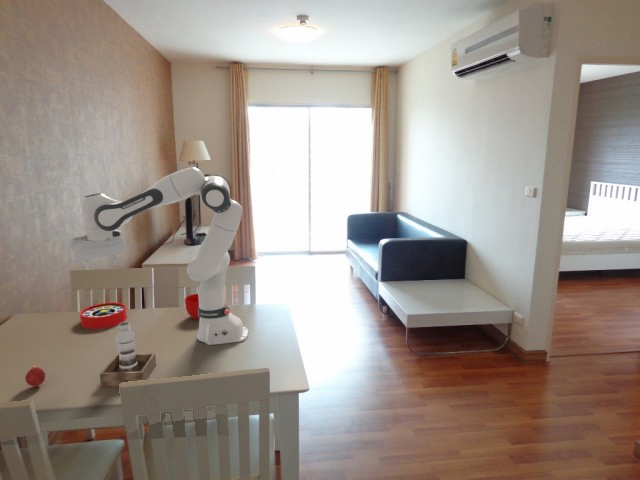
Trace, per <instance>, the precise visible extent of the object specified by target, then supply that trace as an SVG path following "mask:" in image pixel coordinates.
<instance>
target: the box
mask: <svg viewBox="0 0 640 480" xmlns="http://www.w3.org/2000/svg"><path fill="white" fill-rule="evenodd" d="M135 355H136V360H137V363H138V372H119V353H118V354H115V355H114V357H112V359H111V360H110V361H109V363H108V364H107V365H106V366H105V367H104V368H103V370H102V371H101V372H100V373H99V378H100V387H101V386H113V387H120V386H119V384H120V383H122V382H128V381H138V380H146V379H147V380H148V379H149V378H150V377H151V374H152V372H153V371H154V369H155V368H156V366H157V360H156V358H157V357H156V353H155V352H154V353H153V352H152V353H135Z"/></svg>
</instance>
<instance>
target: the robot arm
mask: <svg viewBox="0 0 640 480" xmlns="http://www.w3.org/2000/svg"><path fill="white" fill-rule="evenodd" d="M230 189H231V188H230V183H229V182H228V180H227V178H225V177H224V176H222V175H219V174H208V173H206V174H204V173H203V172H202V171H201V170H200V169H199V168H197V167H194V166H191V167H187V168H183V169H181V170H177V171H175V172H172V173H171V174H168V175H166V176H164V177H162V178H161V179H159V180H158V181H156V182H155V183H154V184H152V185H151V186H150V187H149V188H147V189H145V190H144V191H142V192H141V193H139V194H137V195H135V196H133V197H130V198H128V199H126V200H124V201H121V200H117V199H114V198H111V197H109V196H107V195H106V194H105V193H101V192H99V193H92V194H88V195H86V196H84V197H83V199H82V200H81V201H82V202H81V206H82V207H81V209H82V210H81V211H82V218H83V220H84V226H83V229H84V235H81V236H75V237H73V238H71V239H70V241H69V246H70V256H71V259H72V260H73V261H75V262H80V261H81V262H82V264H83V265H84V266H85V269H86V270H87V271H90V270H92V269H93V268H92V265H91V264H88V262H89V260H90V259H96V258H102V257H109V256H111V257H112V259H111V260H110V261H109V263H110V266H116V263H117V262H116V260H117V259H118V256H119V254H125V252H126V251H127V247H126V241H125V238H124V237H123V231H121V230H119V228H120V227H122V226H124V225H126V224H128V223H129V222H131V220H133V217H134V216H136V215H138V214H139V213H142V212H145V211H147V210H149V209H154V208H158V207H162V206H167V205H172V204H175V203H178V202H181V201H184V200H186V199H188V198H190V197H192V196H196V195H198V196H201V201H202V203H203V204H204V205H205V206H206V207H207V208H209V209H210V210H212V211H213V212H214V215H213V218H212V220H211V222H210V226H209V228H208V231H207V234H206V235H205V238H204V239H203V241H202V243H201V244H200V245H199V248H198V249H197V251H196V252H195V254H194V256H193V257H192V259H191V260H190V261H189V262H188V264H187V268H186V271H187V275H188V276H189V277H190V278H191V280H192V281H195V282H200V284H199V287H198V291H197V294H198V298H199V307H198V317H199V319H198V321H199V322H198V331H197V335H196V339H197V340H198V341H199V342H201V343H205V344H206V345H208V346H212V345H214V346H215V345H223V344H229V343H231V344H232V343H239V342H243V341H245V340H246V339H247V338H248V335H249V329H248V328H247V327H246V326H244V325H243V322H242V320H241V318H239V317H238V316H236V315H234V313H232V312H230V311H231V310H230V305H229V304H228V305H227V304H225V284H226V277H227V272H228V271H227V270H228V267H229V265H230V262H231V256H230V253H229V252H228V250H229V249H230V248H231V246H232V244H233V242H234V239H235V237H236V234H237V233H238V229H239V227H240V225H241V224H240V223H241V220H242V216H243V206H242V205H241V204H240V202H238V201H236V200H233V199H232V198H231V190H230Z"/></svg>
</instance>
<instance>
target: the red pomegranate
mask: <svg viewBox="0 0 640 480" xmlns="http://www.w3.org/2000/svg"><path fill="white" fill-rule="evenodd" d="M45 379H46V372H45V371H44V369H42V368H41V367H37V366H35V365H32V366H31V369H29V370H28V372H27V373H26V374H25V379H24V380H25V382H26V384H27V385H28V386H31V387H35V388H39V387H40V385H41V386H42V384H43V383H44V382H45Z"/></svg>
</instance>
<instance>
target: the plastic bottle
mask: <svg viewBox="0 0 640 480" xmlns="http://www.w3.org/2000/svg"><path fill="white" fill-rule="evenodd" d="M115 344H116V346H117V350H118V354H119V372H138V363H137V360H136V355H135V354H136V346H135V345H136V335H135V333H134V332H133V331H132V329H131V324H130V322H127V321H124V322H122V323H120V324H118V333H117V334H116V336H115Z"/></svg>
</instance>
